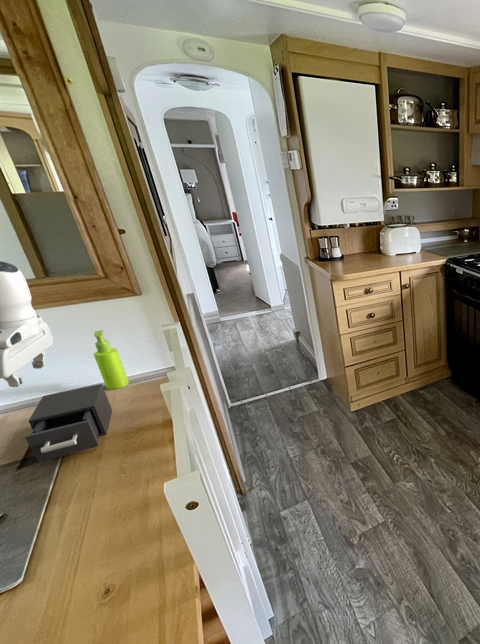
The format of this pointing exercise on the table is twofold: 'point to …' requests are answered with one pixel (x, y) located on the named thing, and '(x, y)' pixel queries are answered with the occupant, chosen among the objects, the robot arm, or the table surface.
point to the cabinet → (75, 406)
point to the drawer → (64, 435)
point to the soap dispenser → (109, 363)
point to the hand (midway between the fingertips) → (28, 376)
